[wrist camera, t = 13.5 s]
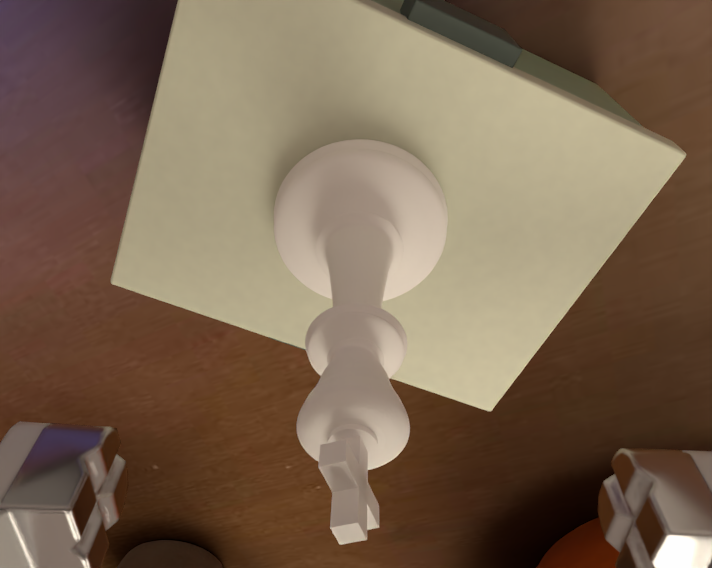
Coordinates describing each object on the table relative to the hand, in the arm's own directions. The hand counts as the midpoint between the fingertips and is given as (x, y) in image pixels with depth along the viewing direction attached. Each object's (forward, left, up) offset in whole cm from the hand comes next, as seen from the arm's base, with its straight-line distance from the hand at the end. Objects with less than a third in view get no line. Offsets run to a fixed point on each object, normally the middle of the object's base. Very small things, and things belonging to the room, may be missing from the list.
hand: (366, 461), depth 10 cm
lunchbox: (0, 0, -16) cm, 16 cm away
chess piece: (0, 0, -9) cm, 9 cm away
